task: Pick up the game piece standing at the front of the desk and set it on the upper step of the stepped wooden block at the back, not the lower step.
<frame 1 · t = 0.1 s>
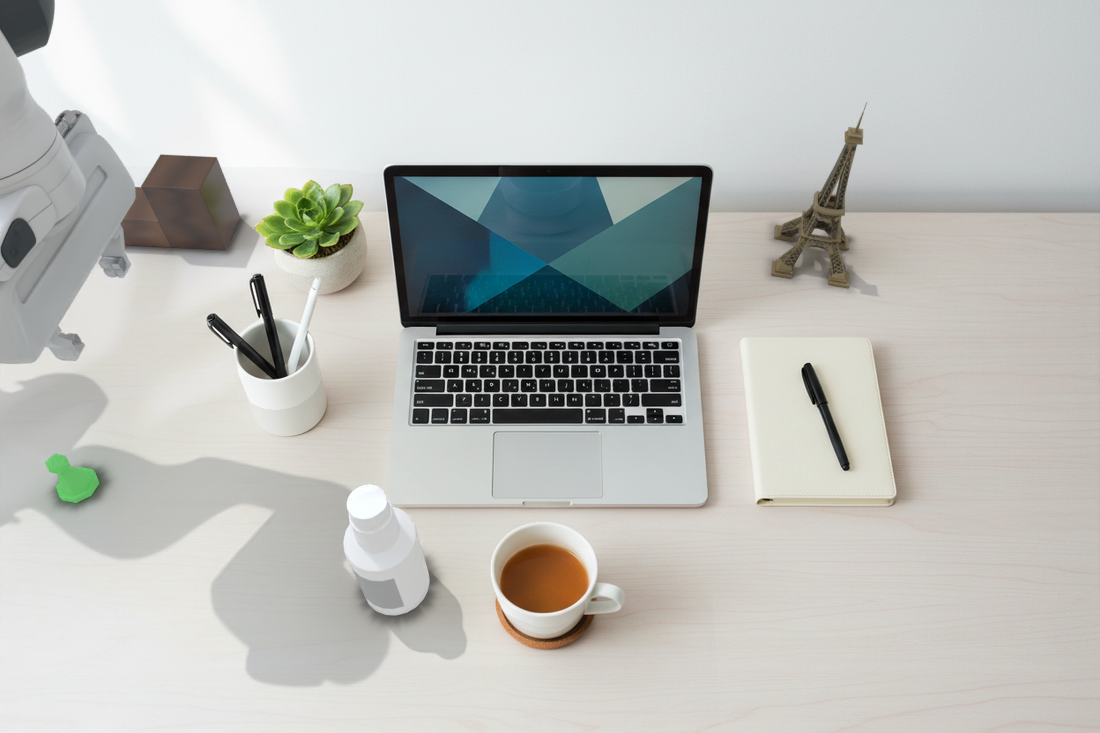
hand: (97, 311, 66), 28 cm above the table, tool pointing down, fingers open, 8 cm apart
eiffel tower: (810, 257, 112), on the table
white bottle: (397, 585, 81), on the table
stepped wooden block: (180, 231, 115), on the table
game piece: (80, 487, 88), on the table
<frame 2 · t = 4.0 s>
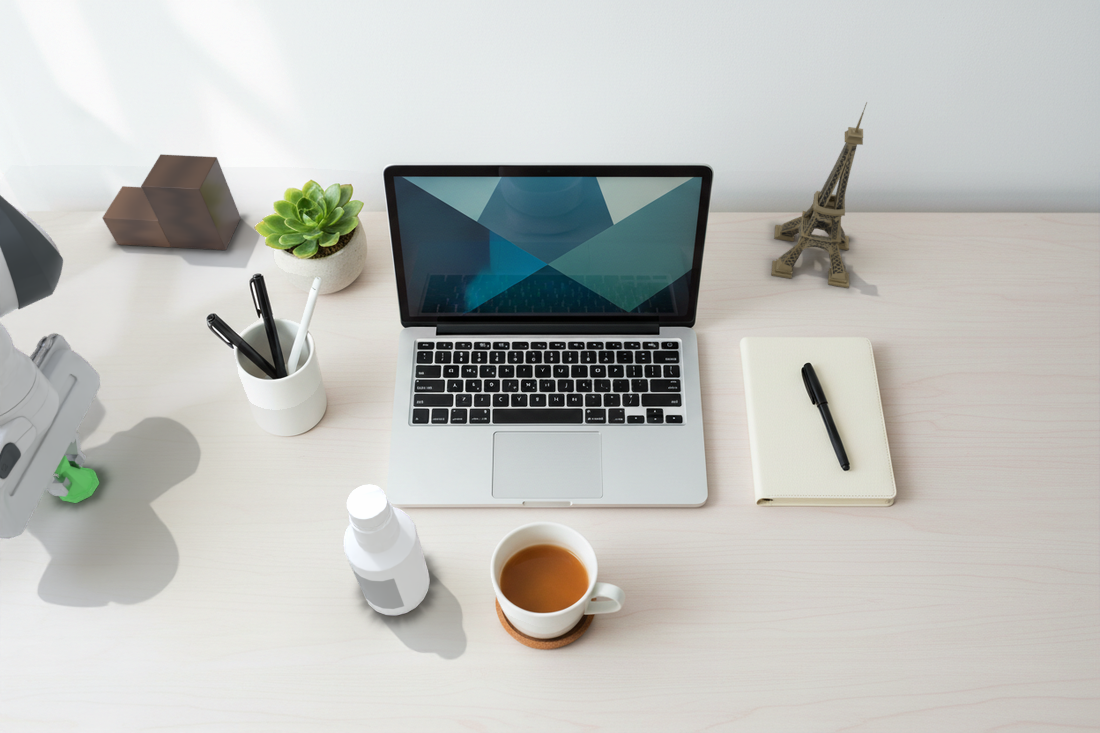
hand: (70, 477, 86), 2 cm above the table, tool pointing down, fingers closed on game piece, 2 cm apart
game piece: (80, 487, 88), on the table, touching gripper
everything else where it was.
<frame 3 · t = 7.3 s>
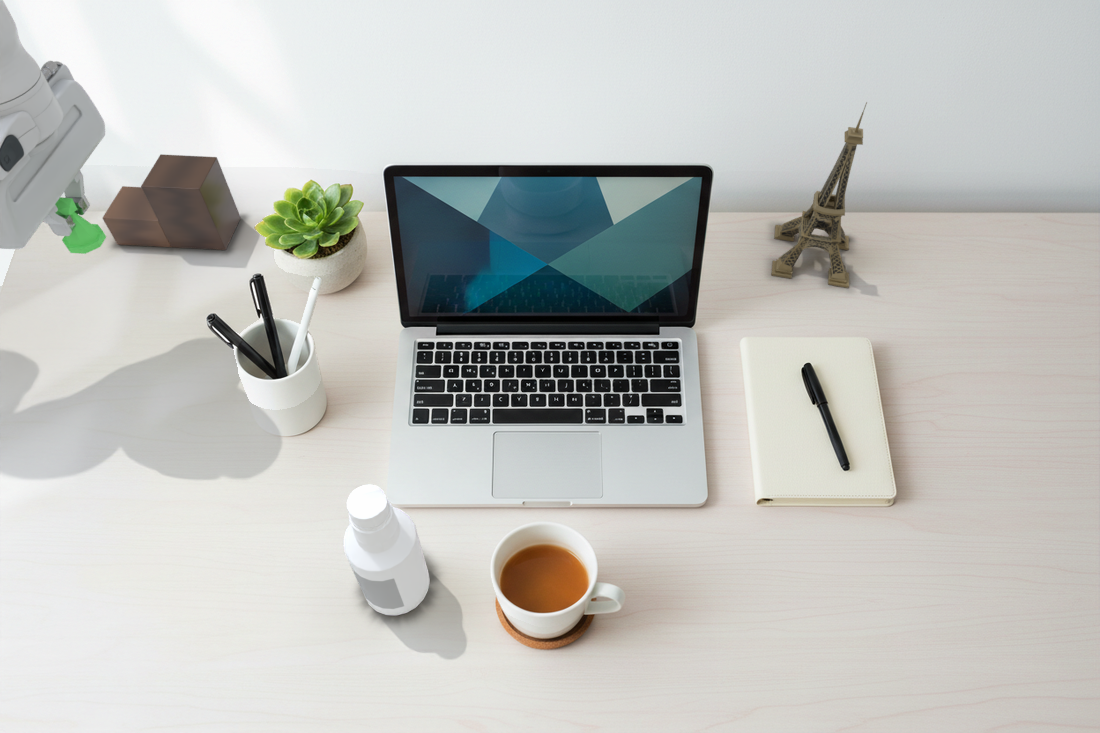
hand: (73, 221, 85), 21 cm above the table, tool pointing down, fingers closed on game piece
game piece: (86, 242, 87), point 18 cm above the table, touching gripper
everything else where it was.
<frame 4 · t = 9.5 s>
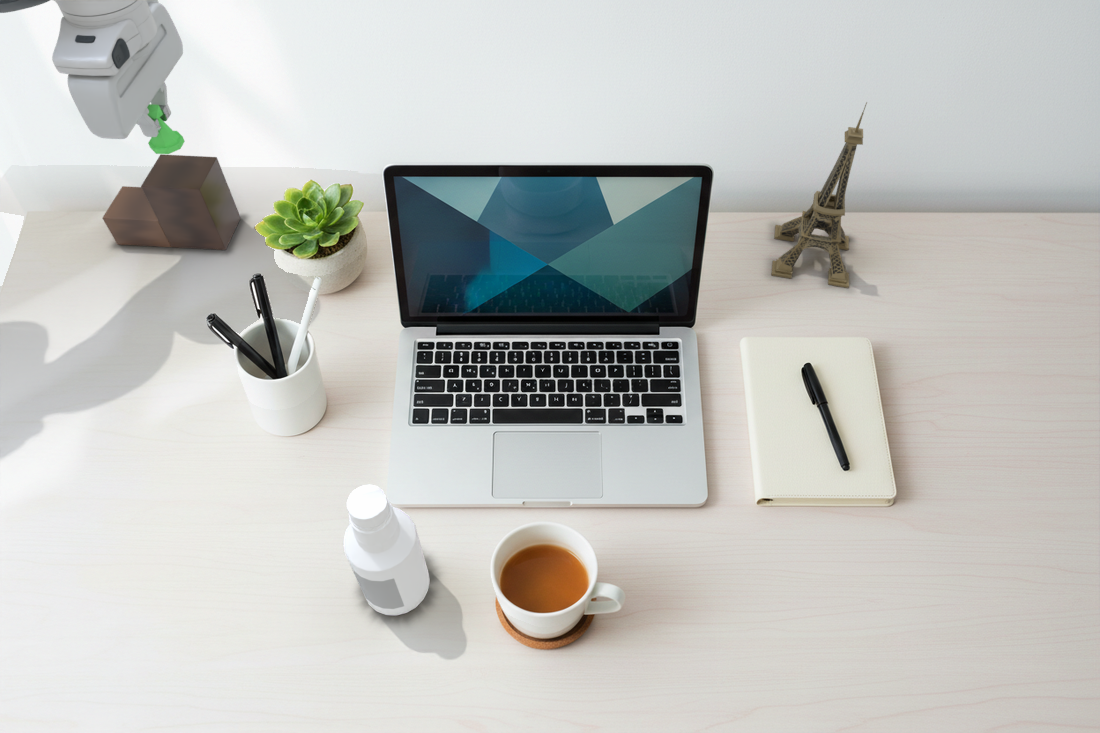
hand: (158, 125, 100), 18 cm above the table, tool pointing down, fingers closed on game piece
game piece: (168, 145, 102), point 15 cm above the table, touching gripper
everything else where it was.
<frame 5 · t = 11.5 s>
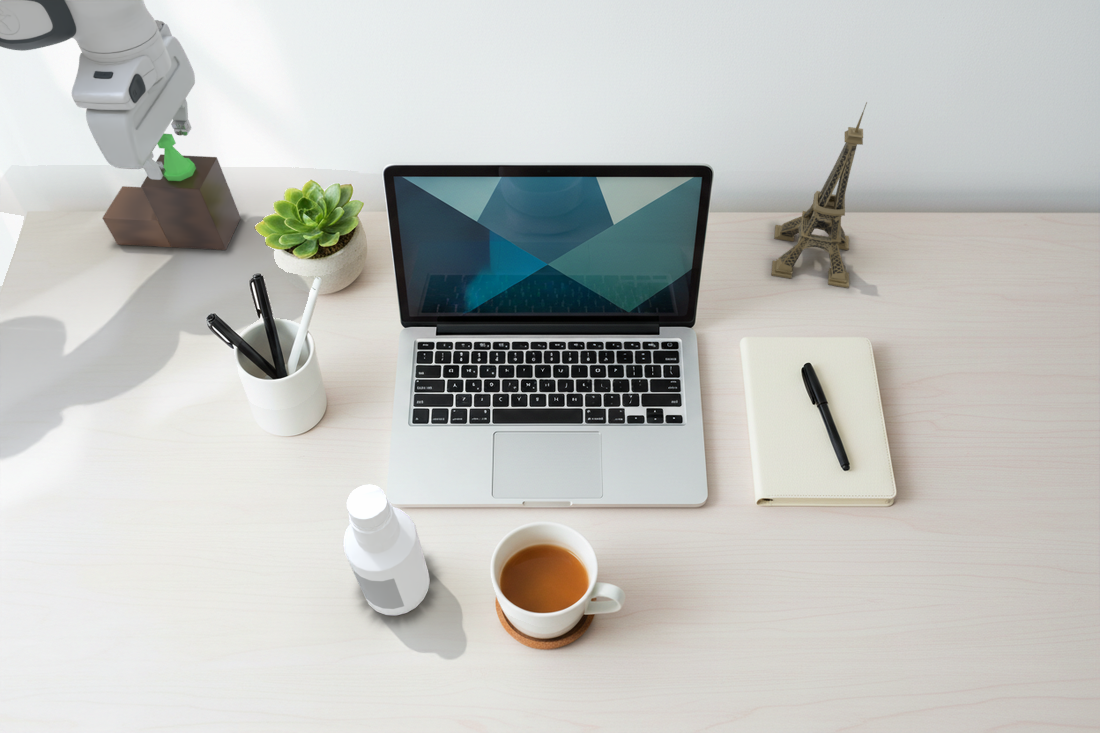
hand: (171, 153, 104), 14 cm above the table, tool pointing down, fingers open, 8 cm apart
game piece: (180, 172, 106), point 11 cm above the table, touching stepped wooden block
everything else where it was.
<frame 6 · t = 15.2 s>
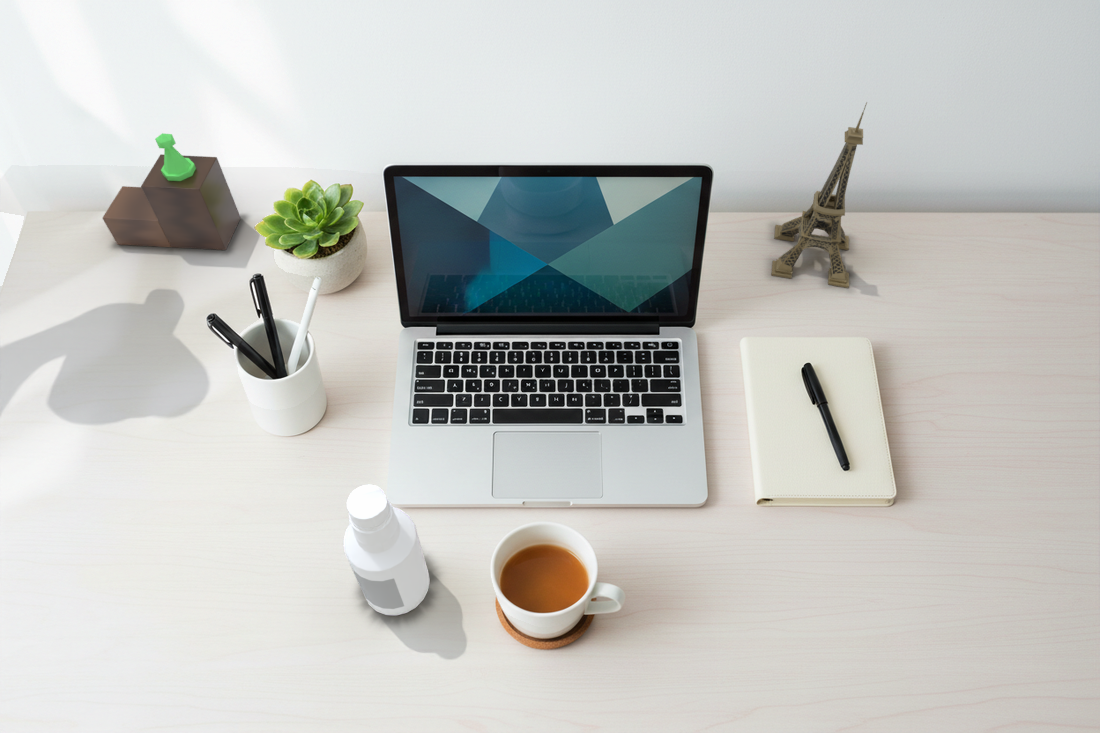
nothing on the table moved.
at the end: game piece 0.1 cm from the target spot on the stepped wooden block, point 10.8 cm above the stepped wooden block's base; game piece tilted 0°; the gripper is holding nothing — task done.
